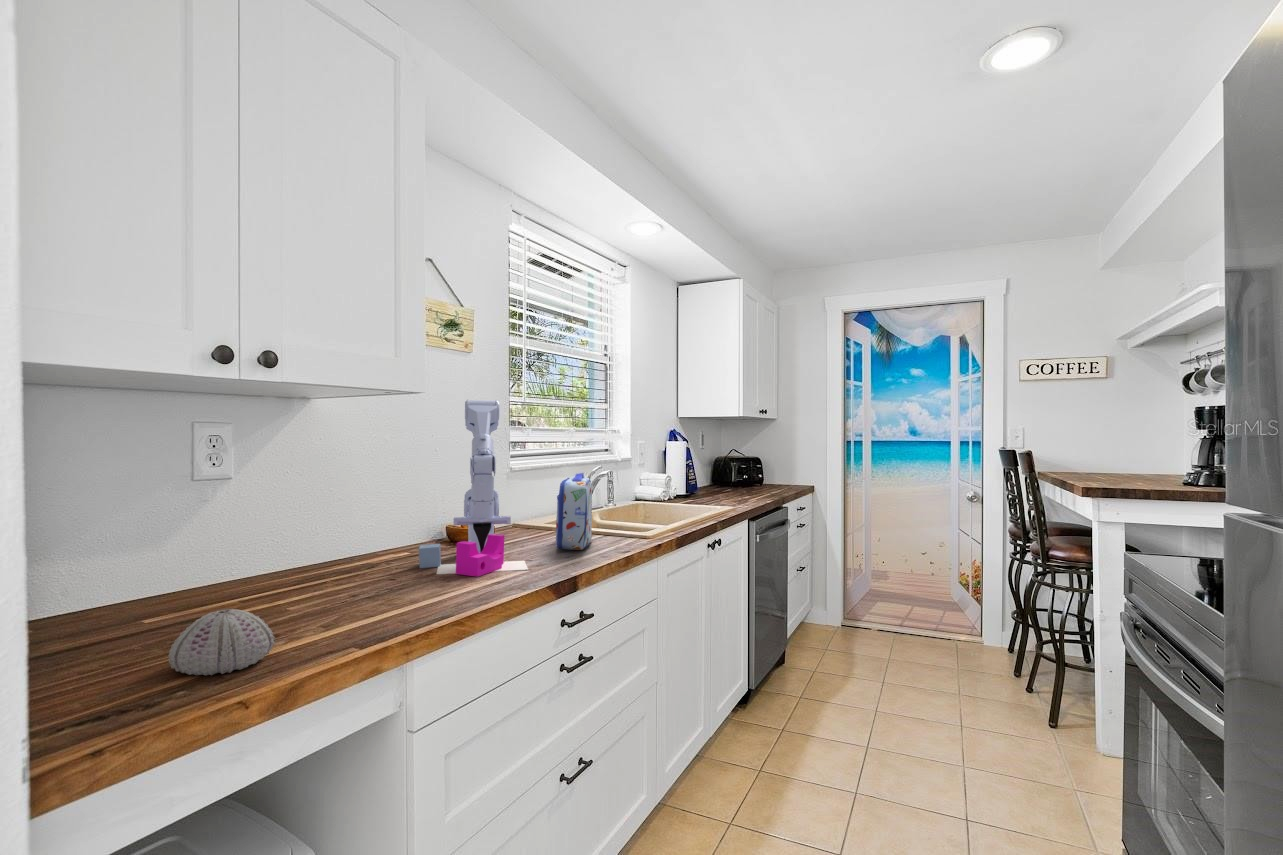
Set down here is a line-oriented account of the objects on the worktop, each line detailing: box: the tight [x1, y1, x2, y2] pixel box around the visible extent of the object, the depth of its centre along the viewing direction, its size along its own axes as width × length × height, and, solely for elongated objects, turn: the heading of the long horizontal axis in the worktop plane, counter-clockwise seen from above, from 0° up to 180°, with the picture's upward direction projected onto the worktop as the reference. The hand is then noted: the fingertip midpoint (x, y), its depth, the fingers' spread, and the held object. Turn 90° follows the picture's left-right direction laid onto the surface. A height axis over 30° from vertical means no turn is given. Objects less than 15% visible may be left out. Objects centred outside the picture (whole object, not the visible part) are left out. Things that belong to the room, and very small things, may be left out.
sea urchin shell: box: [167, 608, 276, 676], centre depth 96 cm, size 13×14×8 cm
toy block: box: [455, 533, 505, 578], centre depth 160 cm, size 15×6×8 cm, turn 159°
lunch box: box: [555, 472, 593, 551], centre depth 195 cm, size 28×10×22 cm, turn 3°
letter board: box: [436, 560, 529, 575], centre depth 163 cm, size 11×22×1 cm, turn 105°
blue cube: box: [418, 543, 442, 569], centre depth 165 cm, size 5×5×5 cm
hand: (482, 552), depth 168 cm, fingers closed
